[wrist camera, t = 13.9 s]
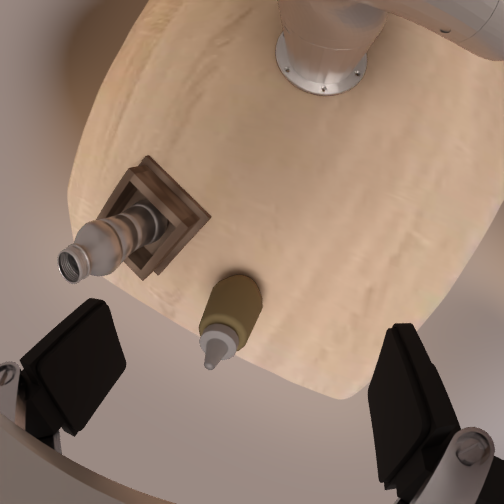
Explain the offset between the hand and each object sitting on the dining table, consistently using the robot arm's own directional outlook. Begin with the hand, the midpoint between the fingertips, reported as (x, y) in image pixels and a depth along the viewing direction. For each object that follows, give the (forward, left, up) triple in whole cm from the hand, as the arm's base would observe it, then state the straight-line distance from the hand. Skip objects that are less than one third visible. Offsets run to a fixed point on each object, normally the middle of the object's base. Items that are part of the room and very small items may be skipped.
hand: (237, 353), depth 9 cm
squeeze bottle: (+16, -7, -34) cm, 38 cm away
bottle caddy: (+4, -21, -33) cm, 40 cm away
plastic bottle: (+4, -20, -32) cm, 39 cm away
